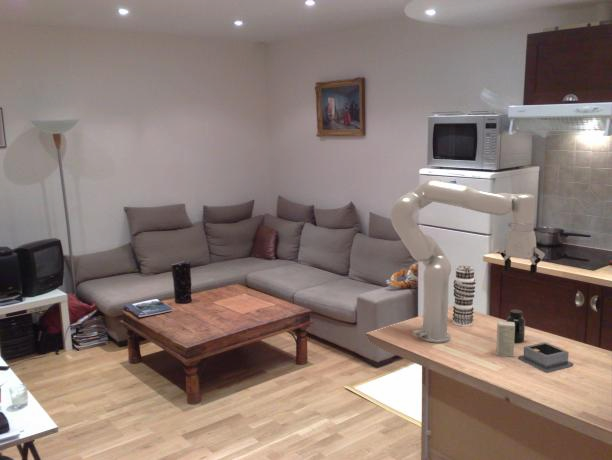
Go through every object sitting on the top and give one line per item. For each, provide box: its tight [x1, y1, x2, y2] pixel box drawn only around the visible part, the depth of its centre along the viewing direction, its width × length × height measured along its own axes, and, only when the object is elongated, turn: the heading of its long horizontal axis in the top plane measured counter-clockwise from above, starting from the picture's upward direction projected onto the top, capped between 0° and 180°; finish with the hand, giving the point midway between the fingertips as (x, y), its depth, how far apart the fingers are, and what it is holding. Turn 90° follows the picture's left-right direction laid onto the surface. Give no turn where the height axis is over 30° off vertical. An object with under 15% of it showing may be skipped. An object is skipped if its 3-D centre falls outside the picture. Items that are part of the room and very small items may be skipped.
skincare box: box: [495, 320, 515, 358], centre depth 207 cm, size 6×4×12 cm
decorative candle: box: [452, 265, 476, 327], centre depth 240 cm, size 9×9×25 cm
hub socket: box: [517, 341, 574, 374], centre depth 200 cm, size 13×13×6 cm
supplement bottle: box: [506, 309, 526, 344], centre depth 221 cm, size 7×7×12 cm
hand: (520, 272), depth 210 cm, fingers open, 9 cm apart
